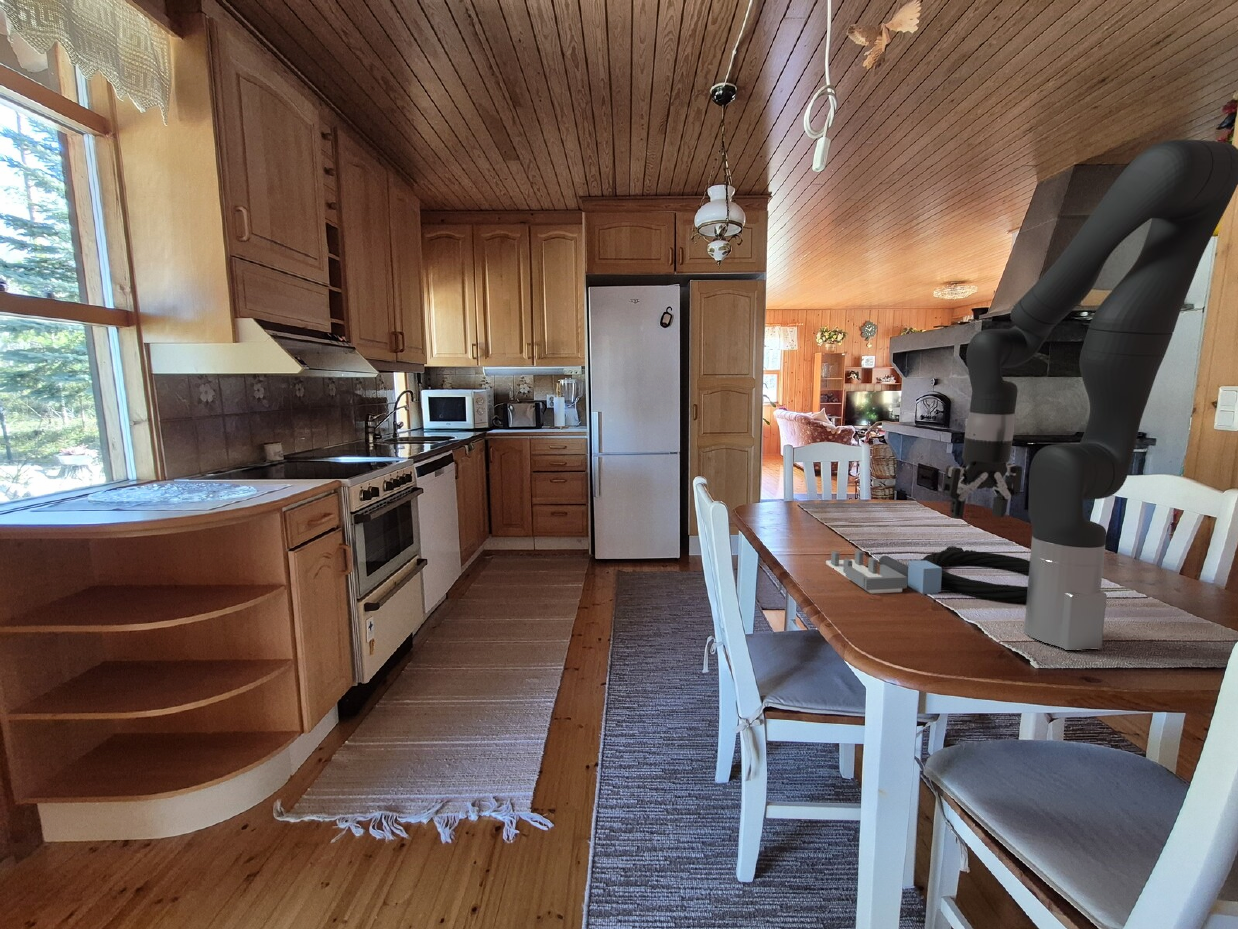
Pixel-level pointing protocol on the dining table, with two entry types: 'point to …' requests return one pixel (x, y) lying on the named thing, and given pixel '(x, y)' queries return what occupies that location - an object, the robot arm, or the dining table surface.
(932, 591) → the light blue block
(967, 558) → the cable lock
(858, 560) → the rail
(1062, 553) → the robot arm
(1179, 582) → the dining table surface
